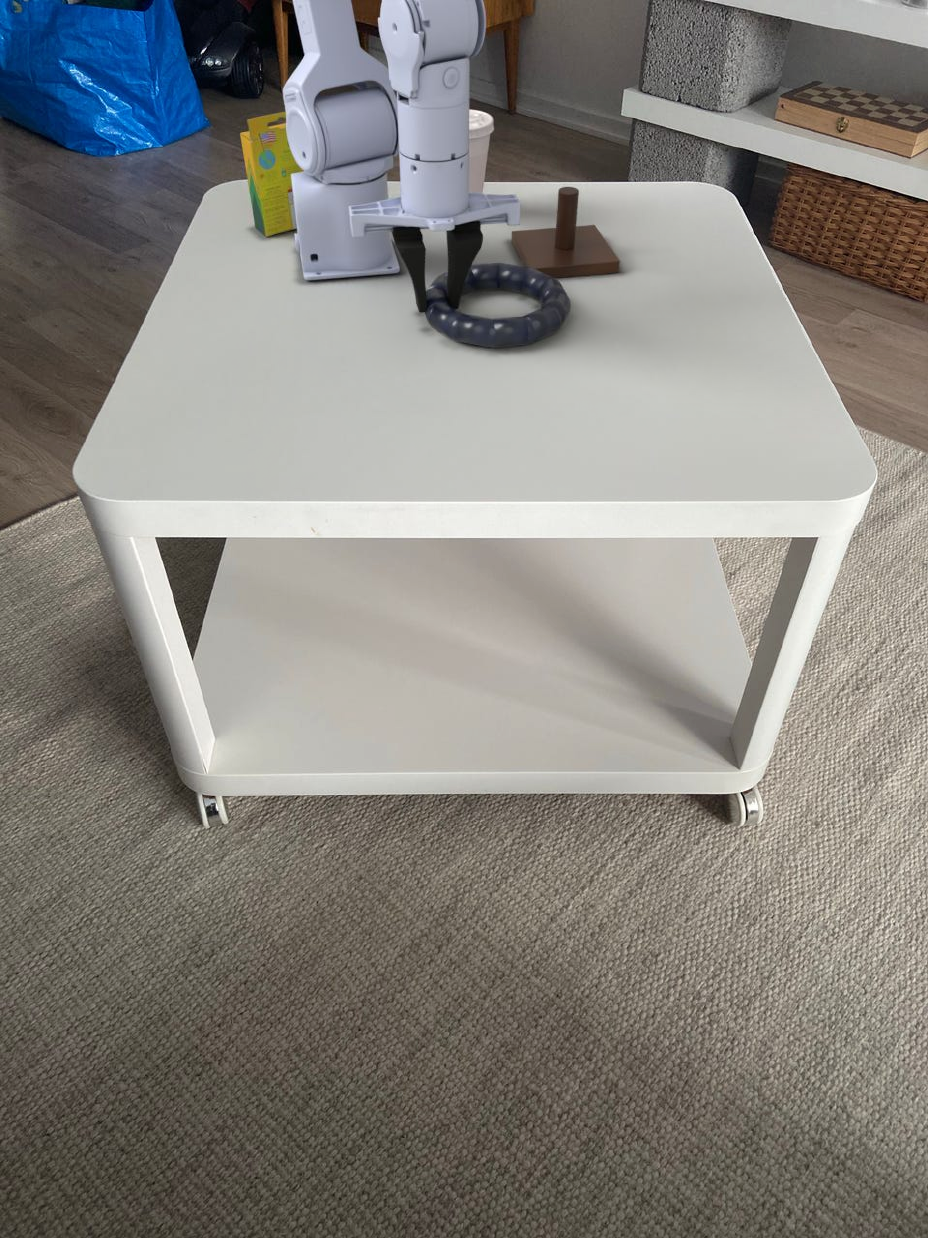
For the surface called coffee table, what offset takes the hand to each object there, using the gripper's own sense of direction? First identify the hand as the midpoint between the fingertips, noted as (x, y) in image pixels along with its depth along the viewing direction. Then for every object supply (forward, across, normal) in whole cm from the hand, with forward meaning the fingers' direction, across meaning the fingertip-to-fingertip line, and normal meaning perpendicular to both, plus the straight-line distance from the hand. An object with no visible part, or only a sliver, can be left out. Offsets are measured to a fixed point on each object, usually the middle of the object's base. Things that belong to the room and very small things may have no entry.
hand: (436, 306), depth 89 cm
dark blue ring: (0, +6, 0) cm, 6 cm away
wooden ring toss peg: (+1, +15, +11) cm, 19 cm away
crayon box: (+2, -12, +24) cm, 27 cm away
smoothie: (+2, +7, +24) cm, 25 cm away
